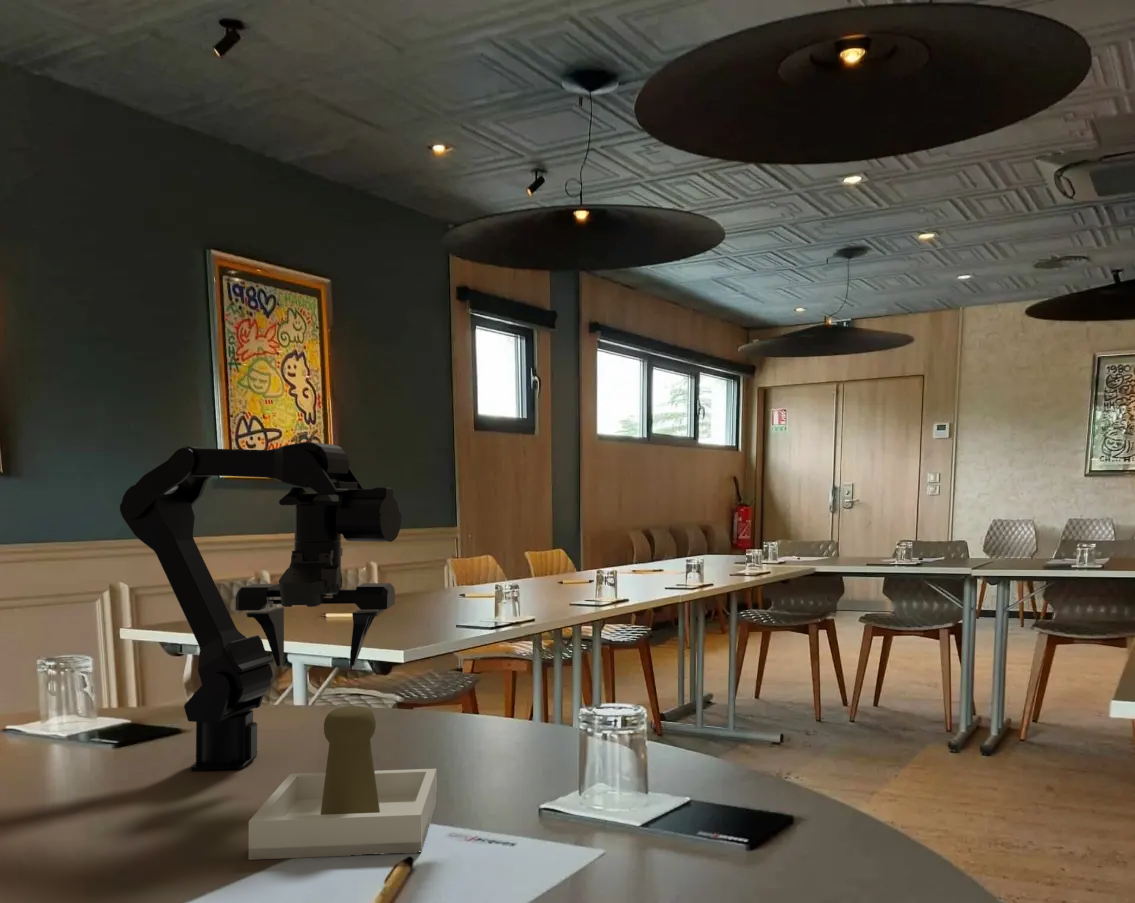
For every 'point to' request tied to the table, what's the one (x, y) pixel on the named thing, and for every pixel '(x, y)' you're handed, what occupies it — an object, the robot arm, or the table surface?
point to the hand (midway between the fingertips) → (316, 665)
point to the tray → (344, 818)
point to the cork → (350, 762)
